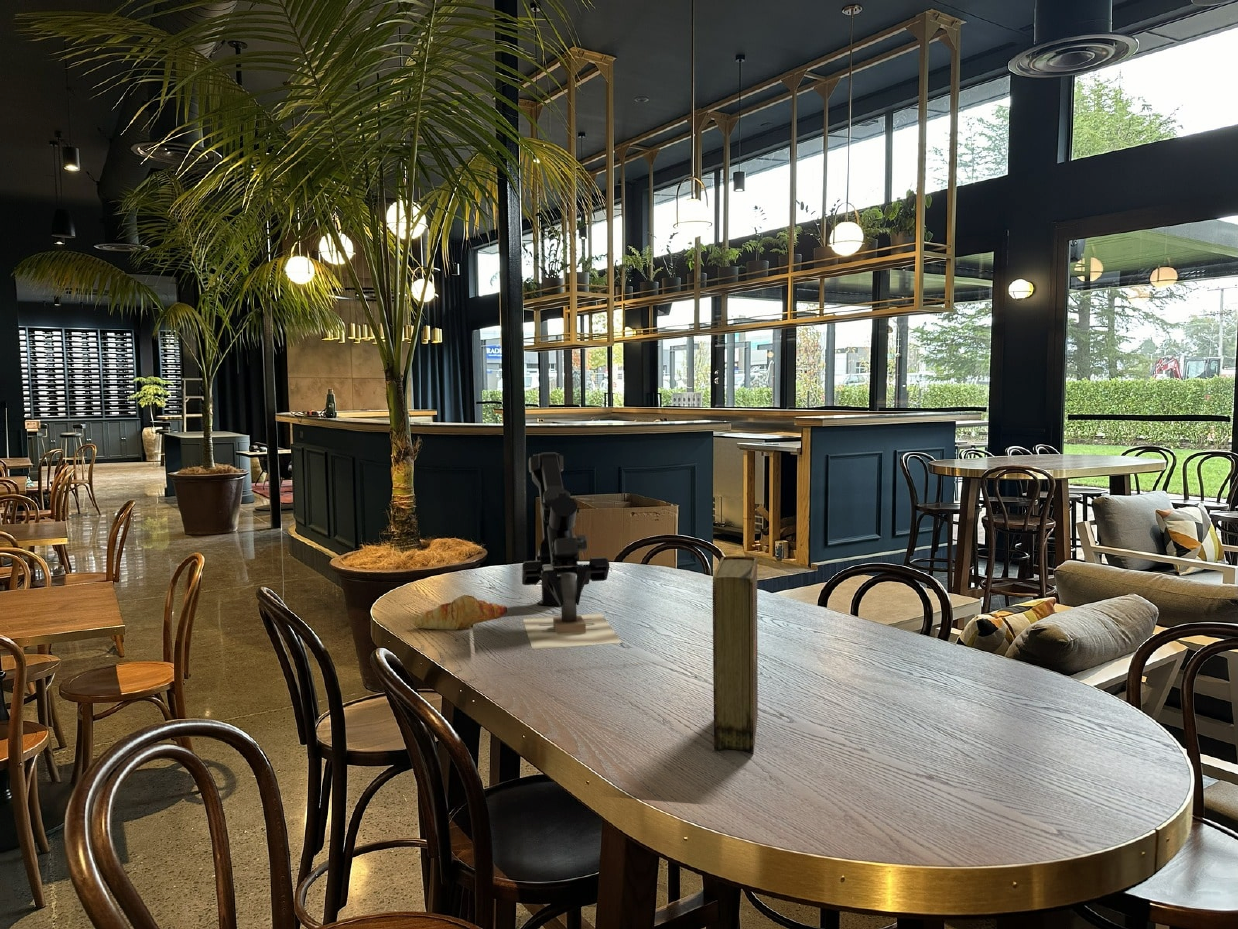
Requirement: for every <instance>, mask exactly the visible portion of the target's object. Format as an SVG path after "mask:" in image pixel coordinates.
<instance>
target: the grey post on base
mask: <svg viewBox="0 0 1238 929" xmlns="http://www.w3.org/2000/svg"><path fill="white" fill-rule="evenodd" d="M576 578H577V576H576V574H575V573H562V574H561V596H562V606H560V607H561V608H560V609H561V610H560V611H561V616H562V617H556V616H552V617H553V627H554V629H555V631H556V633H557V635H566V634H581V633H586V623H585V622H584V620H583V619H582V617H581V616H577V615H578V613H577V604H576Z"/></svg>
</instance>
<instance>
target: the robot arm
mask: <svg viewBox="0 0 1238 929" xmlns="http://www.w3.org/2000/svg"><path fill="white" fill-rule="evenodd" d="M528 471H529V472H528V473H531V478H532V479H531V480H532V482H533V483H534V485H535V486H536V487H537V488H538V491H539V492H538V493H539V503H540V504H539V505H540V507H539V508H540V511H539V512H540V518H541V530H542V541H541V543H540V545H539V547H538V550H537V555H536V556H535V560H524V561H523V563H522V565H521V584H522V585H524V586H532V585H533V586H534V585H535V586H536V585H538V583H540V581H541V599H540V600H539V601H537V603H536V605H537V604H540V605H539V606H550V605H553V606H554V607H561V606H562V596H561V574H562V573H575V574H576V606H579V605H580V600H581V596H582V593H583V592H582V591H583V589H584V587H585V586H587V585H589V584H590V581H592V582H601V581H602V582H604V581H606V580H608V575H609V571H610V560H609V558H607V557H606V556H599V557H597V556H596V557H590V558H589V562H588V564H587V563H586V564H581V563H580V564H578V563H579V561H580V554H579V553H580V552H585V551H587V549H588V542H587V536H586V534H579V535H577V536H576V537H575V535H574V527H575V525H576V520H577V519H576V518H577V515H578V514H579V512H580V507H579V506H578V503H577V502H576V501H575V500H574V499H573V498H572V497H571V492H569V491H568V490H567V489H566V488H565V489H564V484H563V480H562V475H561V473H562V472H563V471H564V455H561V454H560V453H557V452H555V451H554V452H541V453H537V454H533V456H530V457H529V459H528Z"/></svg>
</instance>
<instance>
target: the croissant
mask: <svg viewBox="0 0 1238 929" xmlns="http://www.w3.org/2000/svg"><path fill="white" fill-rule="evenodd" d="M507 612H508V607H507V606H506V605H503V604H501V605H499V604H497V603H493V602H489V603H488V602H486V600H479V599H477V598H475V597H474V596H472V595H469V594H462V595H460V596H459V597H456V598H455V599H453V601H451V602H447V603H441V604H439V605H438V607H436V608H433V609H431V610H428V611H425V612H424V613H422V614H421V615H420V616H418V617H414V618H413V621H412V622H413V626H415V627H417V628H421V629H427V630H442V631H443V630H447V631H451V630H454V631H455V630H461V629H470V628H469V627H471V628H473V627H474V624H477V623H481V622H487V621H490V620H491V621H492V620H494V619H499V618H501V617H503V616H504V615H505V614H507Z"/></svg>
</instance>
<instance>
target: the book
mask: <svg viewBox="0 0 1238 929" xmlns="http://www.w3.org/2000/svg"><path fill="white" fill-rule="evenodd" d="M712 575H713V576H712V666H713V667H712V672H713V673H712V674H713V675H712V676H713V677H712V678H713V679H712V680H713V683H712V684H713V692H712V694H713V750H714V751H720V750H730V749H731V750H739V751H744V752H748V753H752V754H754V753H755V743H756V737H757V725H758V717H759V716H758V714H759V709H758V706H759V705H758V704H759V703H758V701H759V700H758V699H759V698H758V696H759V694H758V693H759V692H758V690H759V689H758V683H759V682H758V680H759V679H758V676H759V675H758V668H759V667H758V557H754V556H747V555H746V556H745V555H731V556H730V555H728V556H721V558H720V559H719V562H718V565H717V566H716V569H715V571H714V574H712ZM755 736H756V737H755Z"/></svg>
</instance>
